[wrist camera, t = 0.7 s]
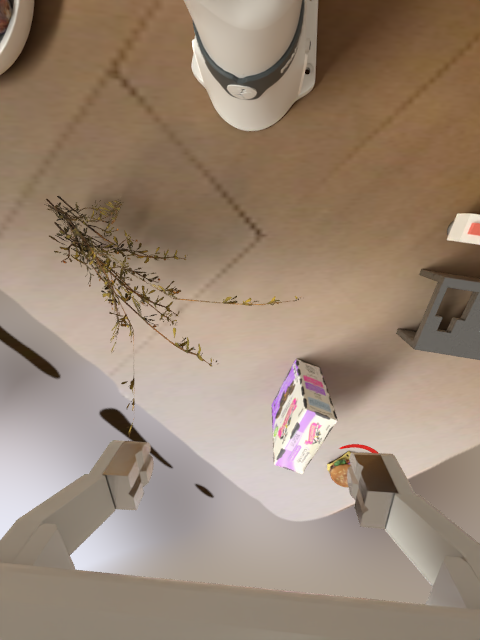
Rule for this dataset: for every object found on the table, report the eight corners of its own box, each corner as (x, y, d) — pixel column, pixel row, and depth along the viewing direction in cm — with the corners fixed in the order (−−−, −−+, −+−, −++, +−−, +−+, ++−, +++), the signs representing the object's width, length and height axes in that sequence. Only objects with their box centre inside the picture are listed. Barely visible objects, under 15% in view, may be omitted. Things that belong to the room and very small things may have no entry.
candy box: (295, 357, 58) (306, 408, 42) (320, 367, 58) (340, 420, 43) (270, 405, 63) (272, 465, 47) (293, 413, 63) (302, 476, 48)
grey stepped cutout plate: (421, 269, 49) (445, 277, 42) (504, 282, 48) (541, 292, 42) (396, 333, 54) (414, 349, 47) (472, 345, 53) (500, 363, 47)
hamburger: (349, 491, 71) (356, 514, 66) (312, 462, 69) (316, 484, 63) (394, 465, 66) (405, 488, 61) (356, 433, 64) (365, 454, 58)
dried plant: (-84, 258, 38) (98, 532, 26) (-1, 31, 30) (313, 282, 18) (99, 281, 66) (226, 418, 55) (167, 168, 58) (332, 300, 47)
